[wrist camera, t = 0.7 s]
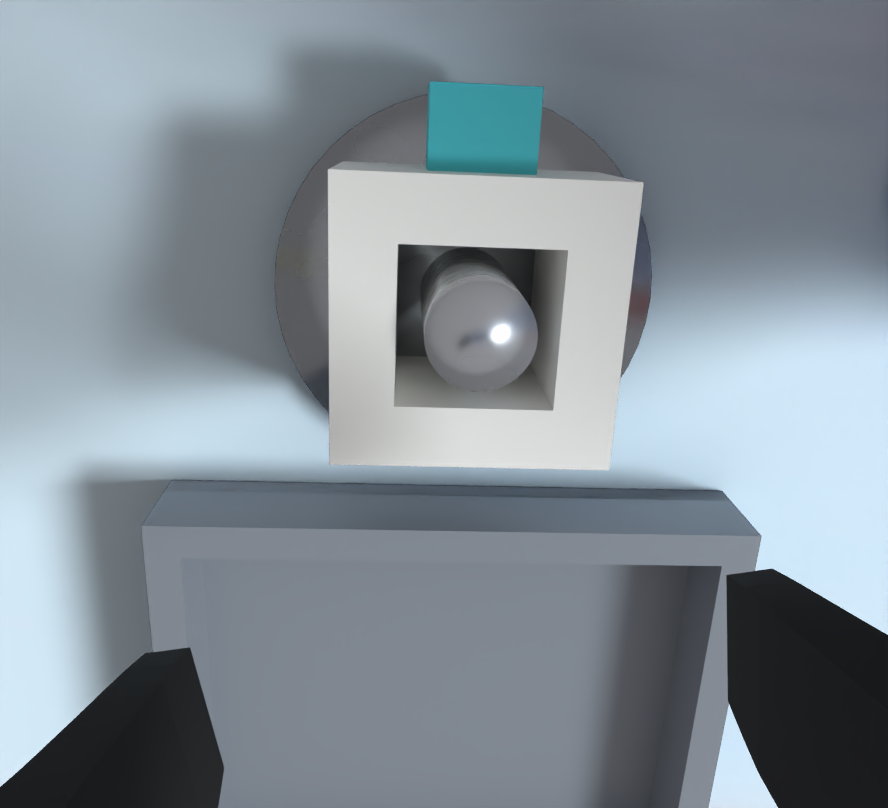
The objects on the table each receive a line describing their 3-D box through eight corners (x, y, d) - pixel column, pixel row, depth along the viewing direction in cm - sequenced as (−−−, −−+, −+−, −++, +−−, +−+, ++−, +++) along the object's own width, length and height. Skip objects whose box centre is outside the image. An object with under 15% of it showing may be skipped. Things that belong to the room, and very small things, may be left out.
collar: (605, 96, 16) (655, 88, 13) (573, 409, 19) (609, 469, 15) (343, 83, 16) (327, 72, 13) (343, 404, 18) (329, 464, 15)
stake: (664, 101, 17) (755, 91, 13) (619, 456, 20) (682, 552, 15) (275, 82, 17) (226, 66, 12) (284, 448, 20) (247, 545, 15)
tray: (722, 490, 20) (761, 536, 18) (660, 844, 24) (686, 917, 22) (171, 479, 20) (141, 526, 17) (200, 846, 24) (177, 923, 21)
